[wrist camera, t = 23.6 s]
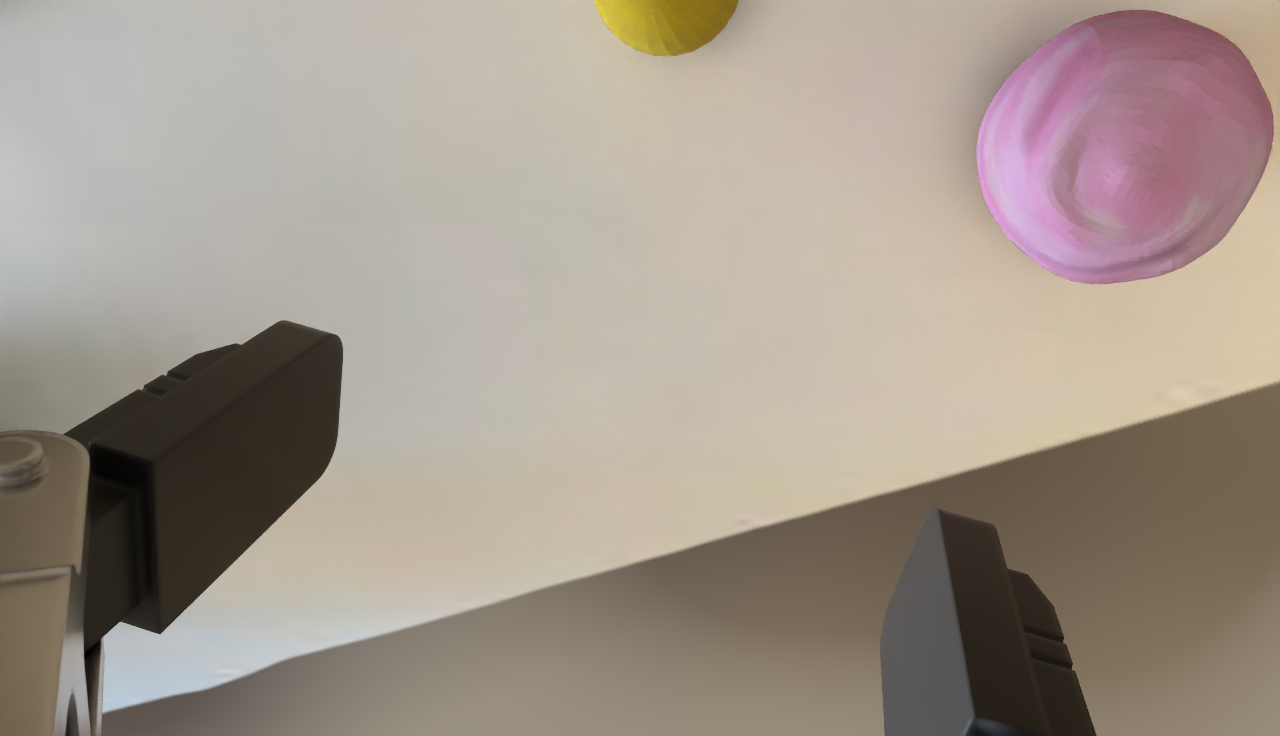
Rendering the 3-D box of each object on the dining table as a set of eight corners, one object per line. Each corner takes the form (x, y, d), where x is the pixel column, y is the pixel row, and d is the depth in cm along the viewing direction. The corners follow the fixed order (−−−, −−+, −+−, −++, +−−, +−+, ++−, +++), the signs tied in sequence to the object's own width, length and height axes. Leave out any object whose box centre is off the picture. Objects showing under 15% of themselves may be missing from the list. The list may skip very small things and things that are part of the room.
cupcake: (917, 102, 37) (940, 141, 28) (1123, -45, 34) (1224, -54, 25) (1033, 272, 39) (1089, 361, 30) (1240, 148, 35) (1375, 207, 26)
